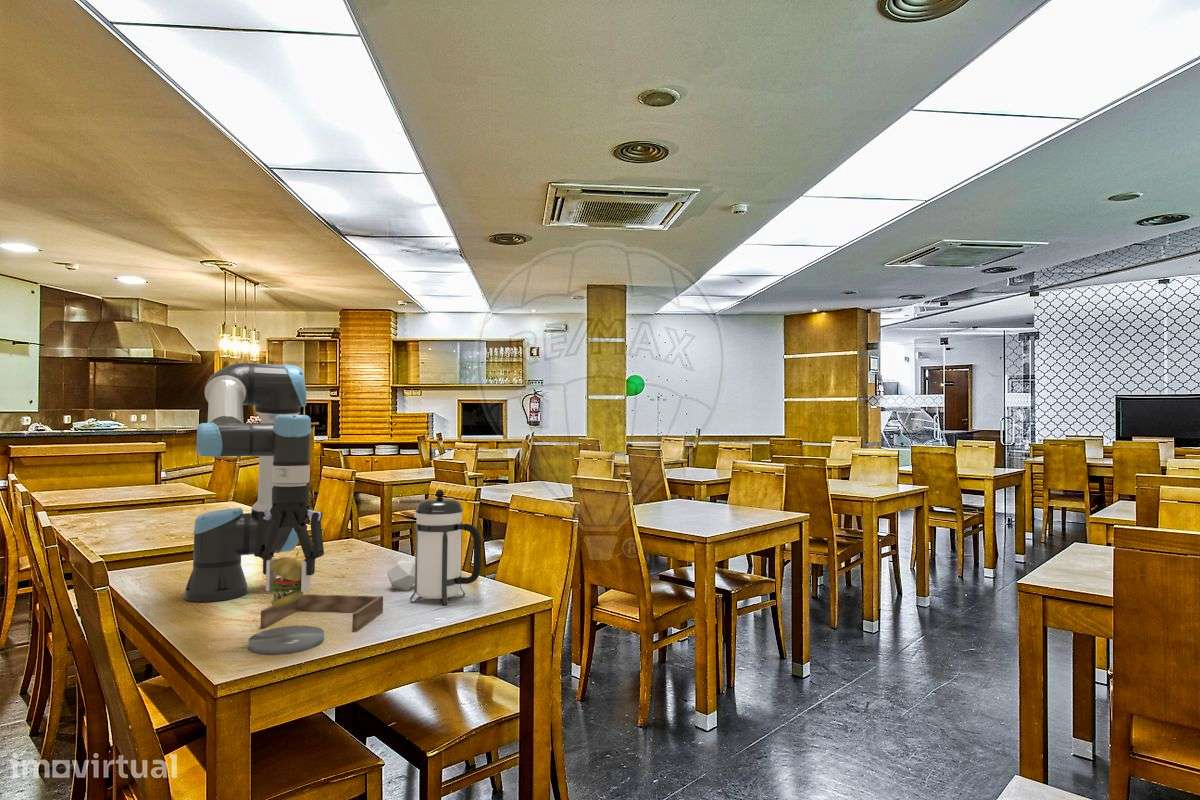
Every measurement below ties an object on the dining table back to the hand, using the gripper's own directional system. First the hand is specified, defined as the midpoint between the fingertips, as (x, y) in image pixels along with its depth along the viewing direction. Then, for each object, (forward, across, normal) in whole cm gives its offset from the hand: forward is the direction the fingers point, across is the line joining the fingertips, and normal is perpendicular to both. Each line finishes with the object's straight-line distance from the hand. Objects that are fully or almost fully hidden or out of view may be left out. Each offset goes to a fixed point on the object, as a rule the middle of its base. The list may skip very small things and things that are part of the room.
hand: (288, 589), depth 149 cm
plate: (+12, 0, 0) cm, 12 cm away
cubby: (+11, 0, +17) cm, 21 cm away
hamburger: (+4, 0, 0) cm, 4 cm away
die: (+12, +8, +50) cm, 52 cm away
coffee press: (+12, +23, +39) cm, 47 cm away
